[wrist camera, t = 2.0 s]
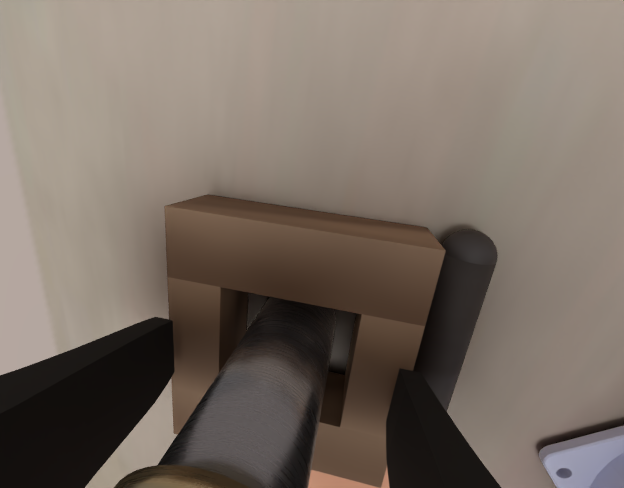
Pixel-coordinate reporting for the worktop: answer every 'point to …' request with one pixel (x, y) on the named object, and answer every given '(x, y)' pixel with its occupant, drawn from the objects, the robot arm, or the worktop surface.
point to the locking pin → (255, 408)
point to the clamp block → (326, 293)
